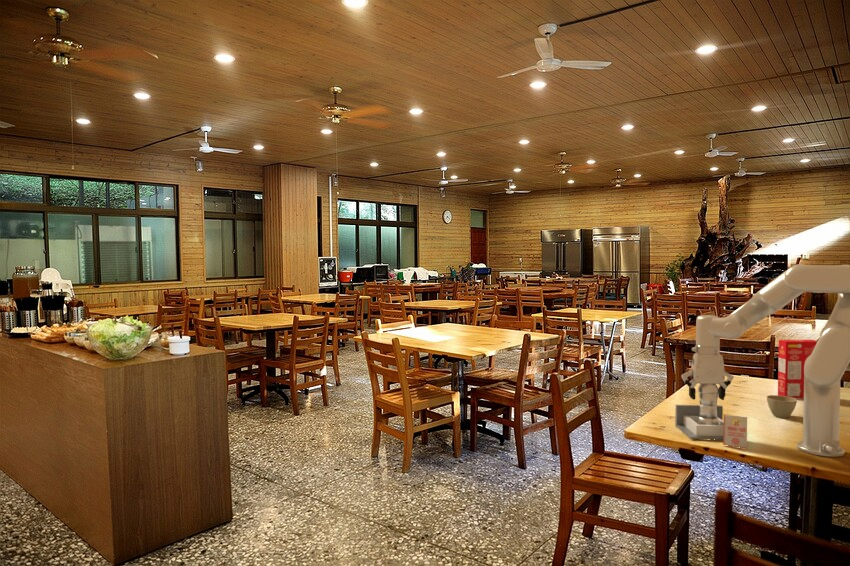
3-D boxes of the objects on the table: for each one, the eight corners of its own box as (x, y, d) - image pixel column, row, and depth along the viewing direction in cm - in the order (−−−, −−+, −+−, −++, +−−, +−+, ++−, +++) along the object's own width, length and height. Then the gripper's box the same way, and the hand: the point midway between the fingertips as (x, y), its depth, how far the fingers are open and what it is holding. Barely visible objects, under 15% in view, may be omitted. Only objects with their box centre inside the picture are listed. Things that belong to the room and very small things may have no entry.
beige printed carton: (723, 442, 192) (723, 413, 192) (746, 445, 189) (747, 415, 188) (723, 446, 189) (723, 416, 188) (746, 449, 186) (747, 418, 185)
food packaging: (811, 395, 255) (812, 339, 254) (819, 398, 249) (820, 341, 248) (777, 395, 255) (778, 339, 254) (784, 398, 250) (786, 341, 249)
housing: (740, 441, 194) (740, 417, 193) (691, 440, 195) (691, 416, 195) (720, 427, 209) (720, 405, 209) (675, 426, 211) (675, 404, 211)
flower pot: (782, 420, 216) (782, 402, 216) (760, 414, 226) (760, 396, 226) (802, 418, 219) (803, 400, 219) (780, 412, 229) (780, 394, 228)
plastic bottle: (721, 433, 198) (721, 376, 197) (700, 432, 200) (700, 375, 199) (715, 428, 205) (716, 372, 204) (695, 427, 206) (696, 372, 205)
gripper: (685, 352, 198) (685, 401, 199) (738, 352, 196) (737, 402, 197) (678, 348, 205) (677, 395, 206) (728, 349, 204) (728, 396, 205)
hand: (706, 398), depth 202 cm, fingers open, 9 cm apart
